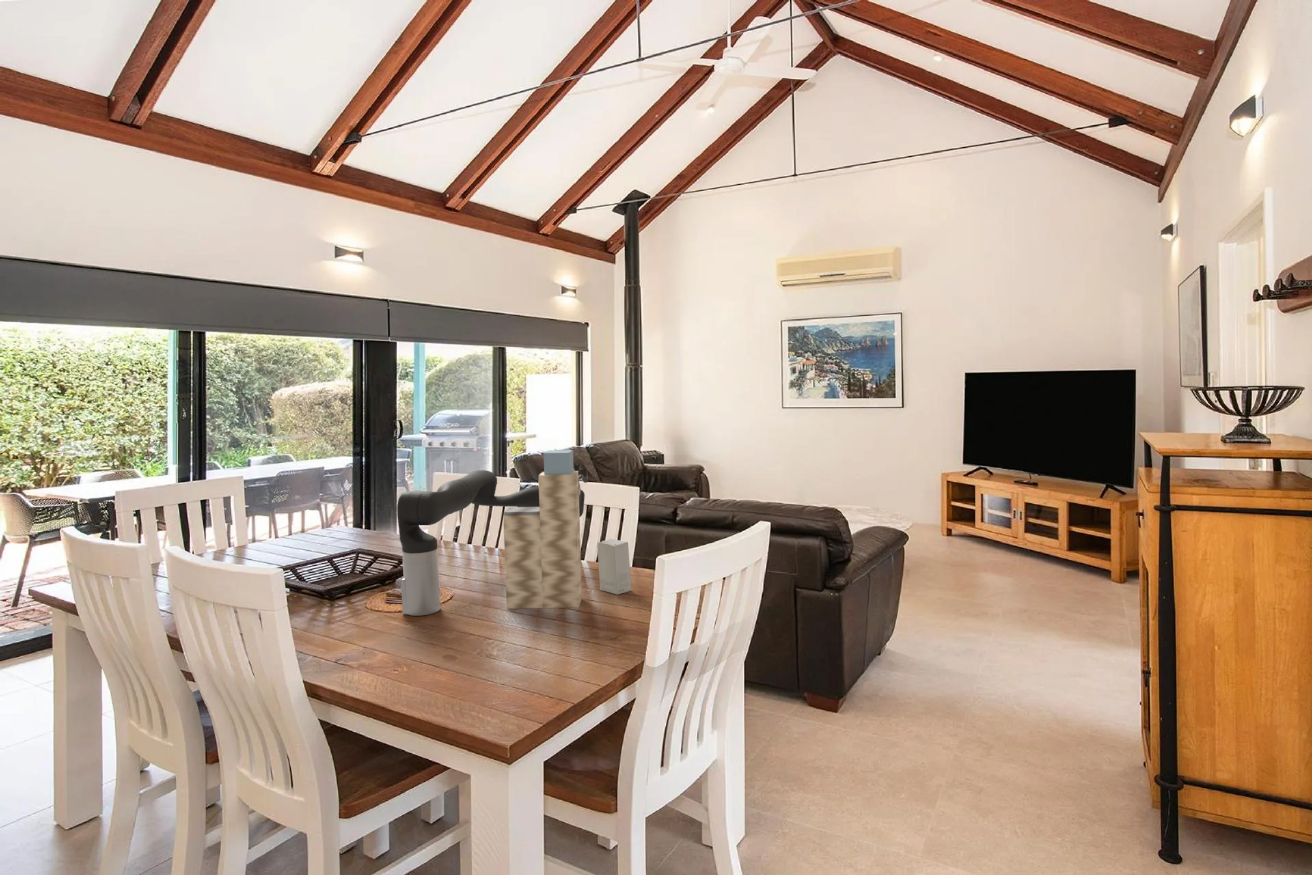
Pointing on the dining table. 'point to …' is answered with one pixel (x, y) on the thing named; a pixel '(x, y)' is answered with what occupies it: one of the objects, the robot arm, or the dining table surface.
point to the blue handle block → (558, 462)
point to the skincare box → (614, 566)
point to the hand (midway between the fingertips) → (561, 466)
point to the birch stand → (545, 547)
